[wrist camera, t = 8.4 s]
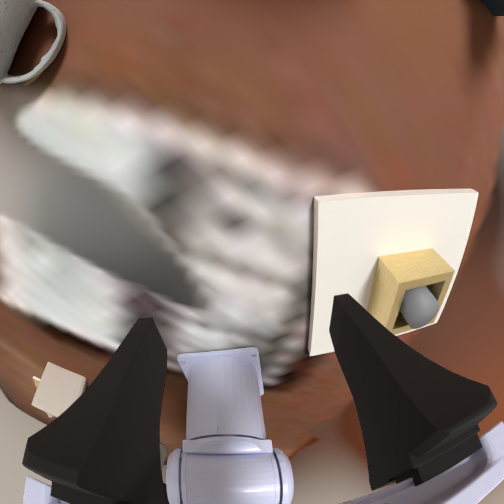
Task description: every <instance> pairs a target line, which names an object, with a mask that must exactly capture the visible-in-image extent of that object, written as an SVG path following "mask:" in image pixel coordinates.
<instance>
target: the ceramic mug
mask: <svg viewBox="0 0 504 504" xmlns="http://www.w3.org/2000/svg"><path fill="white" fill-rule="evenodd" d="M37 7H43V8H45V9H46V10H47V11H49V12H50V13H51V14H52V16H53V18H54V21H55V25H56V27H57V38H56V40H55V41H54V43H53V45H52V47H51V49H50V50H49V52H48V53H47V54H46V55H45V56H43V57H42V59H41V62H40V63H39V65H37V66H36V67H35V68H34V69H33V71H31V72H29V73H27V74H25V75H22V76H11V75H8V74H7V73H8V70H9V68H10V66H11V63H12V60H13V58H14V55H15V52H16V50H17V47H18V45H19V43H20V40H21V38H22V36H23V34H24V32H25V30H26V28H27V26H28V24H29V22H30V21H31V19H32V17H33V15H34V13H35V11H36V9H37ZM65 36H66V22H65V19H64V16H63V14H62V13H61V12H60V11H59V9H57V8H56V7H54V6H53V5H51V4H50V3H48V2H45V1H42V0H0V87H1V85H2V83H8V84H11V83H18V82H22V81H26V80H29V79H31V78H33V77H35V76H37V75H38V74H40V73H41V72H42V71H44V70H45V69H46V68H47V67H48V66H49V65H50V64H51V63H52V62H53V61H54V59H55V58H56V56H57V54H58V53H59V51H60V49H61V47H62V45H63V42H64V39H65Z"/></svg>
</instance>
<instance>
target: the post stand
mask: <svg viewBox="0 0 504 504" xmlns="http://www.w3.org/2000/svg"><path fill="white" fill-rule="evenodd" d="M477 199H478V192H476V191H475V190H473V189H427V190H401V191H382V192H365V193H351V194H338V195H326V196H314V244H313V275H312V297H311V314H310V328H309V341H308V351H309V354H310V356H314V355H319V354H324V353H329V352H334V347H333V344H332V340H331V336H330V333H329V327H330V320H331V313H332V306H333V299H334V296H335V295H341V294H347V293H348V294H349V295H351V296H352V297H353V298H354V299H355V300H356V301H357V302H358V303H359V304H360V305H361V306H362V307H363V308H365V309H366V310H367V306H368V302H369V298H370V294H371V289H372V285H373V280H374V276H375V271H376V266H377V260H378V256H383V255H390V254H397V253H403V252H410V251H416V250H422V249H429V248H433V249H434V250H435V251H436V252H437V253H438V254H439V255H440V256H441V257H442V258H443V259H444V260H445V261H446V262H447V263H448V264H449V265H450V266H451V267H452V268H453V269H454V270H455V272H454V275H453V277H452V280H451V283H450V286H449V288H448V291H447V293H446V296H445V298H444V301H443V303H442V305H441V308H440V310H439V302H438V301H437V300H436V298H435V297H434V296H433V295H432V293H431V292H430V291H429V290H428V288H427V287H426V286H422V287H417V288H413V289H409V290H406V291H405V294H404V297H403V300H402V303H401V306H400V309H399V310H400V312H401V314H402V315H403V317H404V318H405V320H406V321H407V323H408V324H409V326H410V327H411V328H412V329H413V330H417V329H420V328H423V327H426V326H429V325H432V324H434V323H437V321H438V319H439V317H440V315H441V312H442V310H443V308H444V305H445V303H446V301H447V298H448V296H449V293H450V291H451V288H452V285H453V283H454V280H455V277H456V275H457V272H458V269H459V266H460V263H461V260H462V257H463V254H464V250H465V247H466V244H467V240H468V236H469V233H470V229H471V225H472V221H473V217H474V213H475V208H476V203H477ZM438 310H439V312H438ZM437 312H438V315H437V317H436V319H435V321H434V323H432V324H428V323H429V322H430V321H431V320H432V319H433V318H434V317H435V316H436V314H437ZM426 324H428V325H426ZM413 330H409V331H406V332H402V333H399V334H395V336H397V335H400V334H404V333H407V332H410V331H413Z"/></svg>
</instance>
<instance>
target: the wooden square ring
mask: <svg viewBox="0 0 504 504" xmlns="http://www.w3.org/2000/svg"><path fill="white" fill-rule="evenodd" d="M454 272H455V270H454V269H453V268H452V267H451V266H450V265H449V264H448V263H447V262H446V261H445V260H444V259H443V258H442V257H441V256H440V255H439V254H438V253H437V252H436V251H435V250H434V249H433V248H429V249H422V250H416V251H410V252H403V253H397V254H390V255H383V256H378V260H377V266H376V271H375V276H374V280H373V285H372V289H371V294H370V298H369V302H368V306H367V311H368V312H369V313H370V314H371V315H372V316H373V317H374V318H375V319H376V320H378V321H379V322H380V323H381V324H382V325H383V326H384V327H386V328H387V329H388V330H389V331H390V332H391V333H393V334H394V335H395V334H399V333H402V332H406V331H409V330H413V329H412V328H411V327H410V326H409V324H408V323H407V321H406V320H405V318H404V317H403V315H402V314H401V312H400V310H399V309H400V306H401V303H402V300H403V297H404V294H405V291H406V290H409V289H413V288H417V287H422V286H426V287H427V288H428V290H429V291H430V292H431V293H432V295H433V296H434V297H435V298H436V300H437V301H438V302H439V310H440V308H441V305H442V303H443V301H444V298H445V296H446V293H447V291H448V288H449V286H450V283H451V280H452V277H453V275H454ZM439 310H438V312H439ZM438 312H437V314H436V316H435V317H434V318H433V319H432V320H431V321H430V322H429V323H428V324H432V323H434V321H435V319H436V317H437V315H438ZM428 324H426V325H428Z"/></svg>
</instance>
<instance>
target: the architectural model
mask: <svg viewBox="0 0 504 504" xmlns="http://www.w3.org/2000/svg"><path fill="white" fill-rule="evenodd" d="M33 380H34V383H35V385H36V388H37V391H36V394H35V396H34V399H33V402H32V405H33V406H35V407H37V408H39V409H41V410H43V411H45V412H47V414H48V417H53V416H56V417H58V416H60V415H61V414H62V413H63V412H64V411H65V410H66V409H67V408H69V407H70V406H71V405H72V404H73V403H74V402H75V401H76V400H77V399H78V397H80V396H81V395H82V394H83V393H84V390H85V387H86V378H84V377H83V376H80V375H78V374H75V373H73V372H70V371H68V370H66V369H63V368H61V367H59V366H56V365H54V364H52V363H50V362H48V363H47V365H46V368H45V370H44V373H43V375H42V378H41V379H39V378H37V377H35V376H33Z"/></svg>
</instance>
